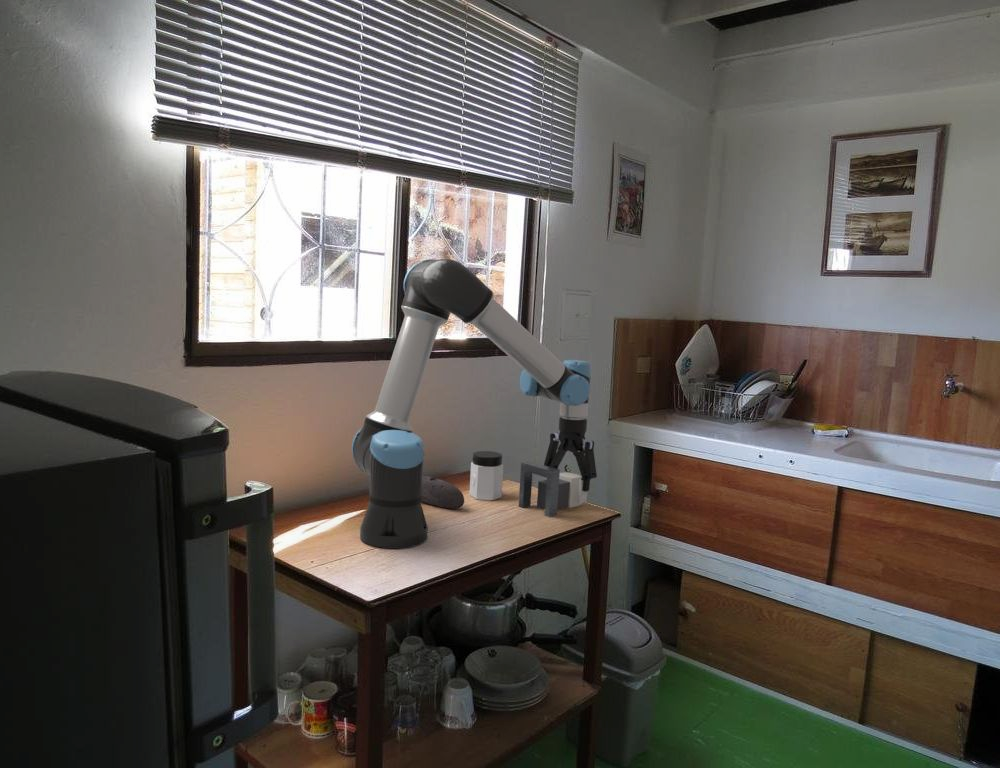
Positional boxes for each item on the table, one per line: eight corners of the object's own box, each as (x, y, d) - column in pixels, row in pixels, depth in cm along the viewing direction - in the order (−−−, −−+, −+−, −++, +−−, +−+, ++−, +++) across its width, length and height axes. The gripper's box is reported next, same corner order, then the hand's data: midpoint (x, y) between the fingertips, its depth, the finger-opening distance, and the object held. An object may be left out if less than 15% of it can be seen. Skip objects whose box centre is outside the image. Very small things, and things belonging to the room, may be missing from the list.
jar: (465, 493, 199) (467, 451, 197) (490, 490, 203) (493, 449, 201) (479, 502, 191) (481, 458, 190) (505, 499, 195) (508, 456, 194)
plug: (552, 512, 186) (554, 482, 185) (535, 506, 190) (537, 477, 189) (584, 503, 195) (587, 475, 194) (568, 498, 199) (570, 470, 198)
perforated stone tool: (469, 510, 184) (470, 484, 183) (456, 514, 180) (457, 487, 179) (425, 498, 192) (426, 473, 191) (412, 502, 188) (413, 476, 187)
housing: (549, 517, 181) (552, 471, 180) (518, 506, 189) (521, 462, 188) (556, 515, 183) (559, 469, 182) (526, 504, 191) (529, 461, 190)
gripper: (614, 422, 186) (608, 505, 189) (552, 410, 202) (547, 486, 205) (596, 425, 181) (590, 510, 184) (534, 412, 197) (529, 490, 200)
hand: (567, 497), depth 194 cm, fingers open, 9 cm apart
